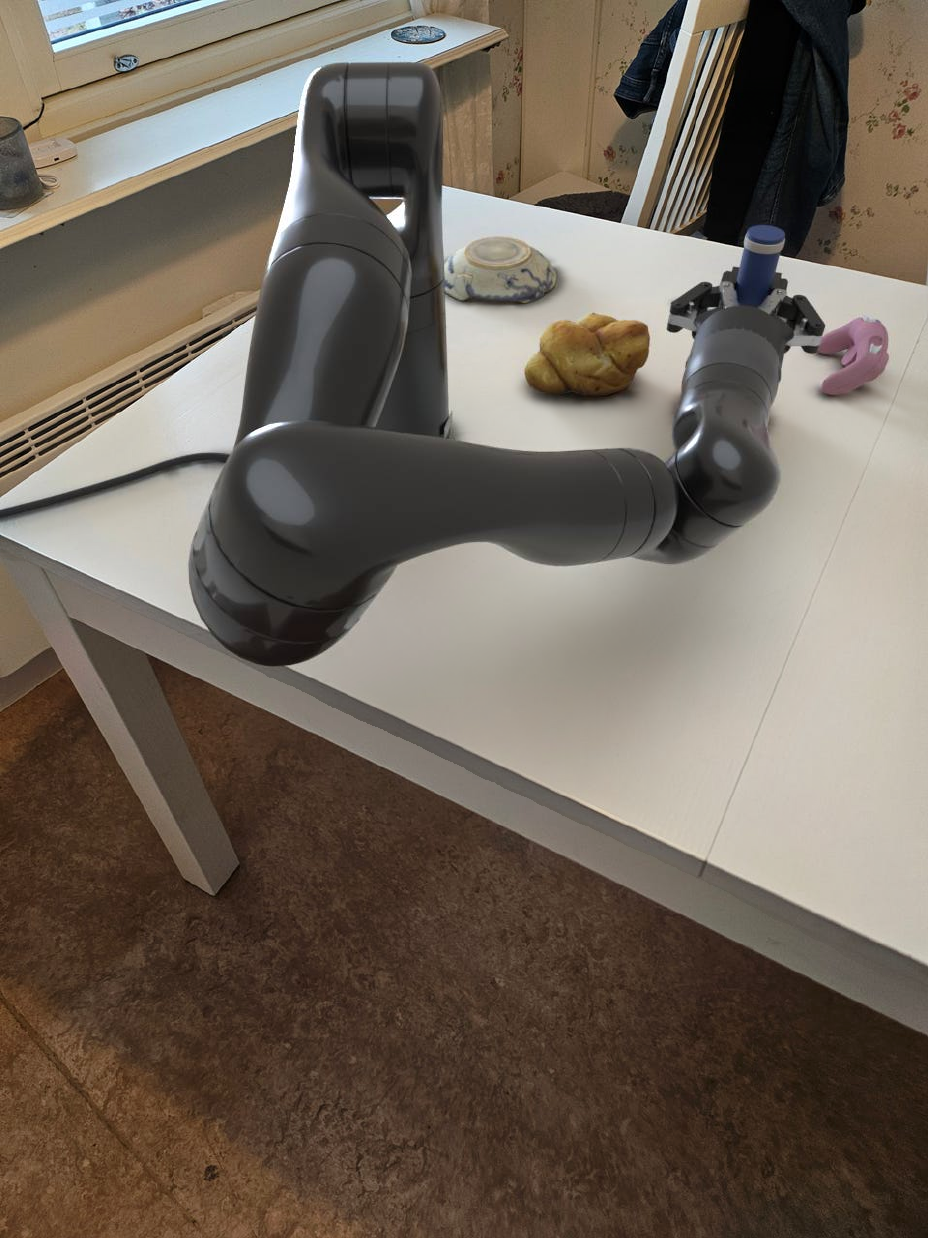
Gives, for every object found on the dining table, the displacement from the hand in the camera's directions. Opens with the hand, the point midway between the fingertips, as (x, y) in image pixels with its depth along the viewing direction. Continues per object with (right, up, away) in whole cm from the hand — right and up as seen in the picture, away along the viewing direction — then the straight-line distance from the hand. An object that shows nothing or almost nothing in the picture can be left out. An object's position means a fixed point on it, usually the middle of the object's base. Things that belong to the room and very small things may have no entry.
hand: (755, 279), depth 82 cm
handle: (-1, -8, +4) cm, 9 cm away
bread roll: (-15, -6, +13) cm, 21 cm away
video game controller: (+14, -6, +13) cm, 20 cm away
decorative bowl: (-23, +11, +29) cm, 39 cm away
